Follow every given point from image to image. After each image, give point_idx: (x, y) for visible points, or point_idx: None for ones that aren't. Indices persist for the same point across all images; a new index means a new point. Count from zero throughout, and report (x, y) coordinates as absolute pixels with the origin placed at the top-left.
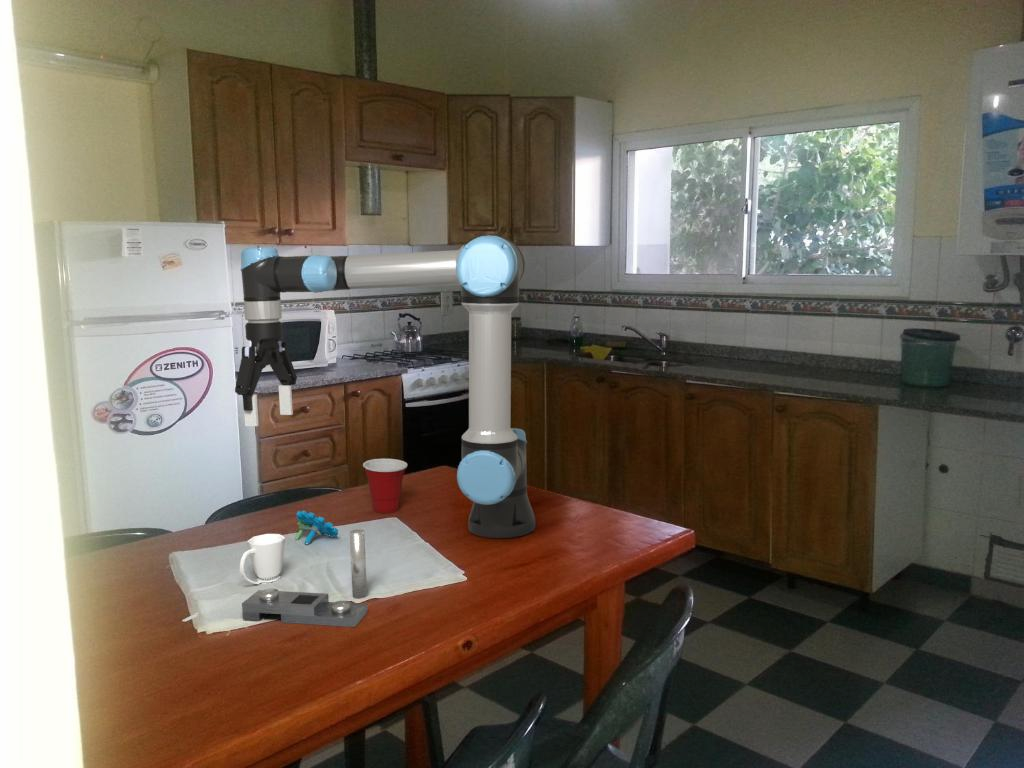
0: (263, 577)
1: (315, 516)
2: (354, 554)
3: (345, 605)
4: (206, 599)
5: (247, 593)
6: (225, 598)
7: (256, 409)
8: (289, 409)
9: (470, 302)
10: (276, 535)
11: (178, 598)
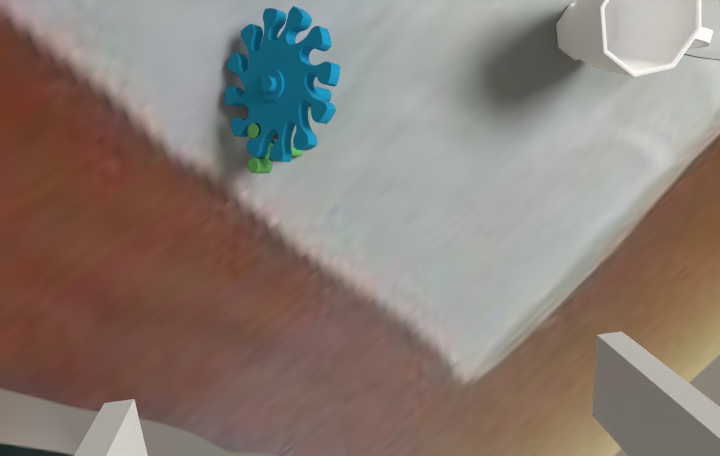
0: (618, 22)
1: (314, 66)
2: None
3: None
4: (710, 95)
5: None
6: (709, 51)
7: (698, 406)
8: (120, 440)
9: None
10: (604, 16)
11: (711, 160)
